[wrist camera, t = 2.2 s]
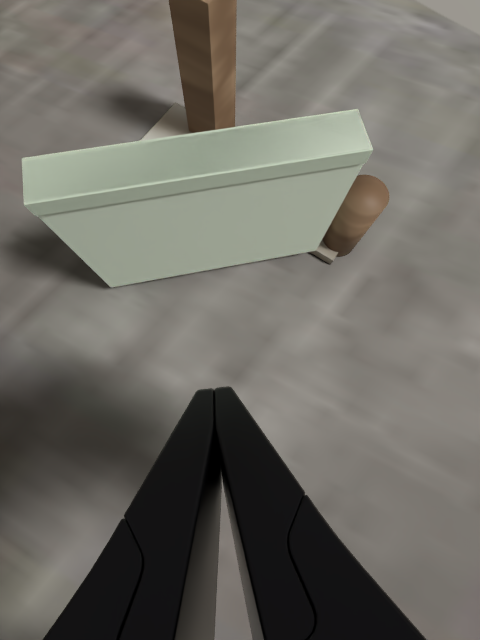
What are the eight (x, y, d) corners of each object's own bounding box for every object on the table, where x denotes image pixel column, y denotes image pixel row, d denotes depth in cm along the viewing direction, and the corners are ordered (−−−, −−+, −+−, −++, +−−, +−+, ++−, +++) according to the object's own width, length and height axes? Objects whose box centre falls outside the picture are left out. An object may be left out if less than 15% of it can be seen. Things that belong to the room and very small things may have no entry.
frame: (339, 269, 21) (414, 177, 13) (139, 151, 23) (84, 0, 15) (376, 209, 23) (468, 87, 14) (183, 101, 25) (157, -64, 16)
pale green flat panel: (308, 224, 21) (357, 108, 13) (316, 251, 21) (373, 150, 12) (107, 259, 20) (21, 158, 12) (111, 289, 20) (24, 205, 11)
